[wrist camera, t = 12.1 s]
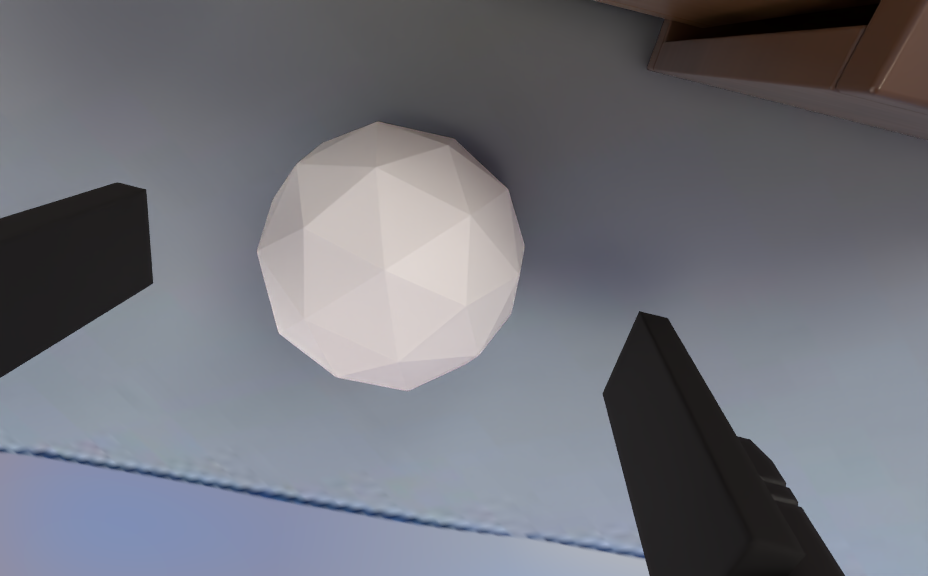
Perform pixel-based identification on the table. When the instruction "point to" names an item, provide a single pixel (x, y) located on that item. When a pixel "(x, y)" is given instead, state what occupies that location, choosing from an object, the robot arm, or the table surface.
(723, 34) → the cabinet
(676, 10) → the drawer
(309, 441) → the table surface
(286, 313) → the geometric ball
